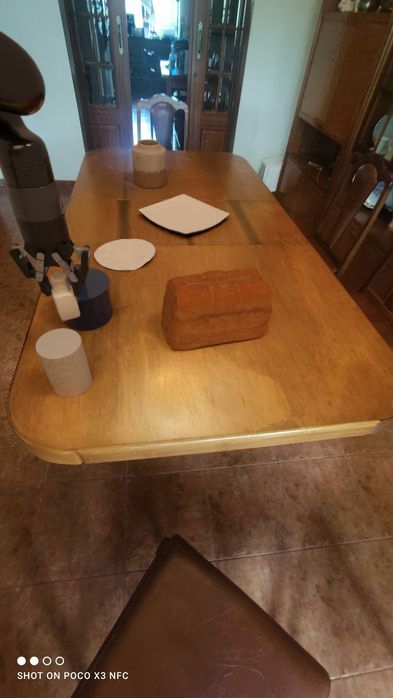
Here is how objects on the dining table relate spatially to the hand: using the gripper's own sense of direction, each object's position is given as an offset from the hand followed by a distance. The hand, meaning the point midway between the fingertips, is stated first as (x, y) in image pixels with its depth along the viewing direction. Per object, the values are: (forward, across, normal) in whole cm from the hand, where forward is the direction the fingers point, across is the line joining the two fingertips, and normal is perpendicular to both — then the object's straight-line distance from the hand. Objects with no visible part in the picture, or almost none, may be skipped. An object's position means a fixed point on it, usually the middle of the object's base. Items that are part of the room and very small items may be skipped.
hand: (63, 293), depth 64 cm
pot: (+16, 0, +12) cm, 20 cm away
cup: (+16, 0, -10) cm, 19 cm away
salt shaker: (+6, 0, 0) cm, 6 cm away
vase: (+16, +14, +109) cm, 111 cm away
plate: (+16, +29, +72) cm, 79 cm away
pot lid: (+6, 0, +12) cm, 14 cm away
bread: (+16, +33, +7) cm, 38 cm away
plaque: (+16, +8, +43) cm, 47 cm away
